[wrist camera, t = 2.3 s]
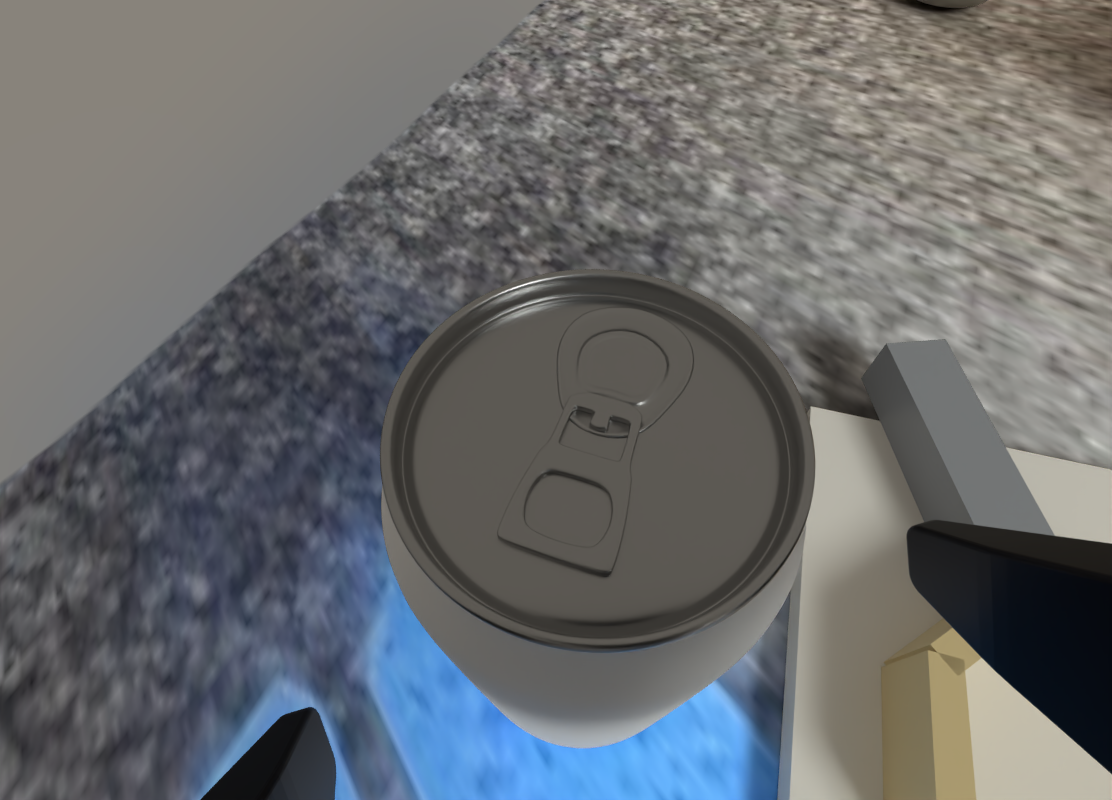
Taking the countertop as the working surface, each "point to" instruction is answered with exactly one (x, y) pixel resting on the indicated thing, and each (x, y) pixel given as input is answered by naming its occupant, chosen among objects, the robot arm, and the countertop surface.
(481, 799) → the countertop surface
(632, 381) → the can
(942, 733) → the octagonal ring fixture plate
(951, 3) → the plastic bottle
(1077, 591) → the robot arm
